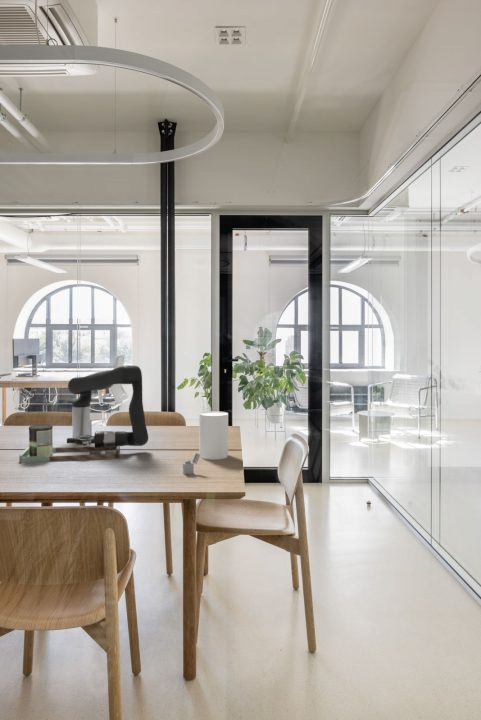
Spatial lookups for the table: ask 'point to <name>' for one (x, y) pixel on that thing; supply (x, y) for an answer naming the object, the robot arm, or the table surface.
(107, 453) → the mats
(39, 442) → the coffee can
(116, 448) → the walnut lane
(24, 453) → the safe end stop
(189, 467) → the lighter
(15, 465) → the table surface
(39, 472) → the table surface
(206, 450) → the canister
